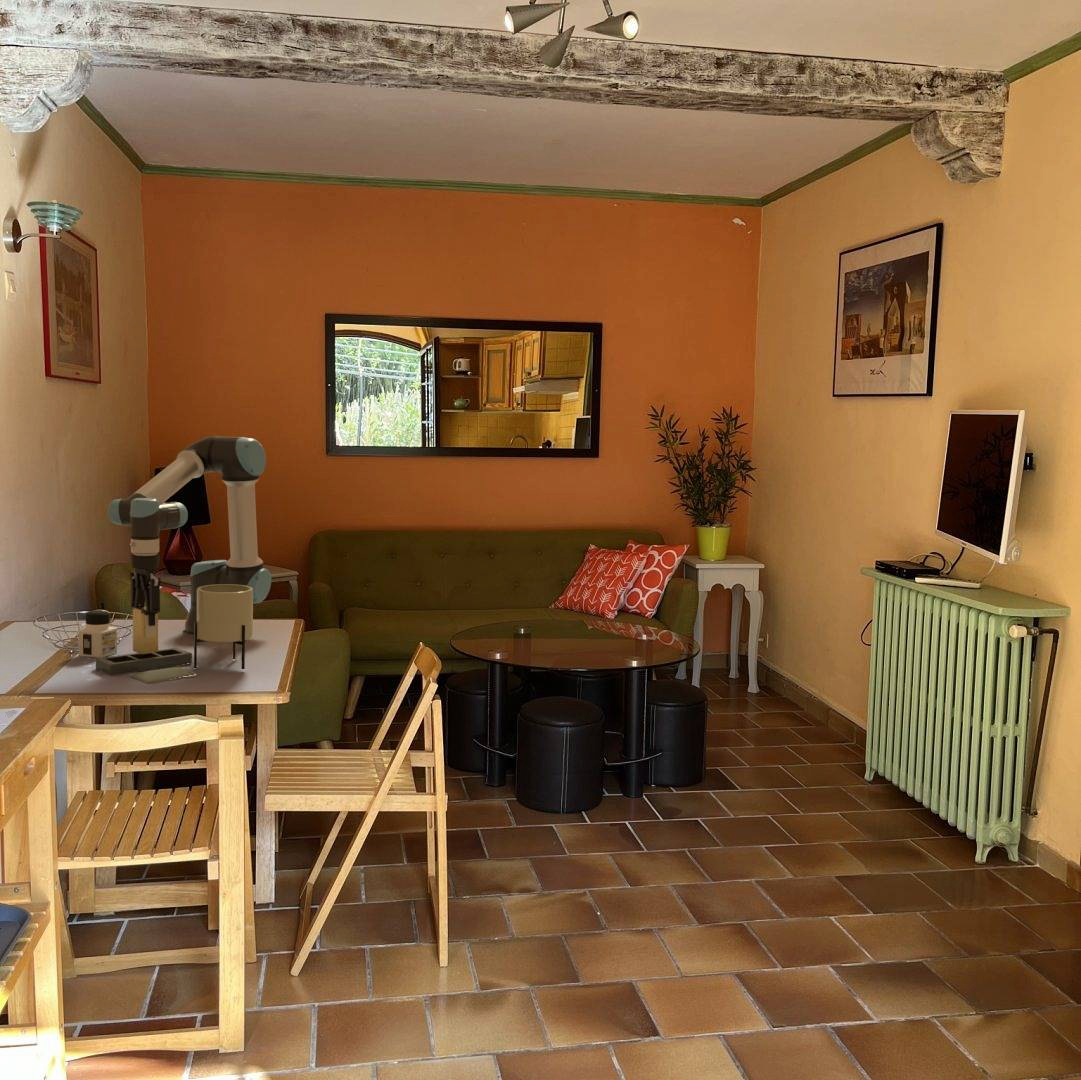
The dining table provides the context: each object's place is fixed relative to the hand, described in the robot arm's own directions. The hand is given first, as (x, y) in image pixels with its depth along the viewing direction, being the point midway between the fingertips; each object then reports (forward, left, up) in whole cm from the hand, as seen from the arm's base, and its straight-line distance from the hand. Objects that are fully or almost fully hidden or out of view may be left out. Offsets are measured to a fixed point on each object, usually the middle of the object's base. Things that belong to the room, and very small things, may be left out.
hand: (145, 634), depth 298 cm
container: (+4, -21, -9) cm, 23 cm away
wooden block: (0, 0, -5) cm, 5 cm away
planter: (-17, +14, -9) cm, 24 cm away
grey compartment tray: (0, 0, -9) cm, 9 cm away
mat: (+1, +13, -9) cm, 16 cm away
